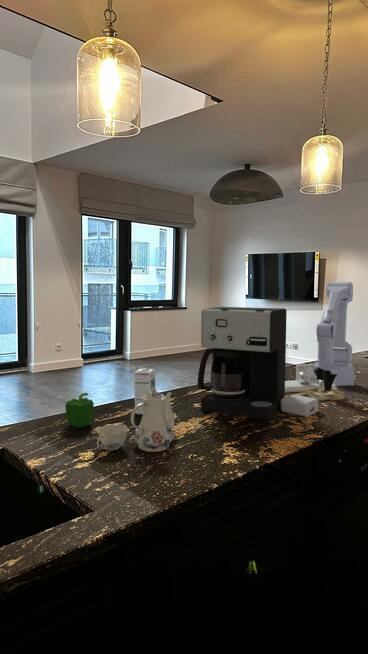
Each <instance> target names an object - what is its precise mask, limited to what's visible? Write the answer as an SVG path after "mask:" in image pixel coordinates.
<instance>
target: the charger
mask: <svg viewBox="0 0 368 654" xmlns="http://www.w3.org/2000/svg"><path fill="white" fill-rule="evenodd" d="M280 405H281V408H280V411H281V412H282V413H287V414H291V415H292V414H293V415H295V416H296V415H297V416H301V417H304V418H305V417H306V418H307V417H310V416H312V415H314V414H316V413H317V412H318V410H319V400H318V399H315V398H312V397H310V396H304V395H303V396H302V395H297V394H291V395H287V396H285V398H282V399H281V401H280Z"/></svg>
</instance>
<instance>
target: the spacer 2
mask: <svg viewBox="0 0 368 654" xmlns="http://www.w3.org/2000/svg"><path fill="white" fill-rule="evenodd" d="M318 392H321V393H329V392H330V391H325V389H324V380H323V379H318Z"/></svg>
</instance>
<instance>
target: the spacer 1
mask: <svg viewBox="0 0 368 654" xmlns="http://www.w3.org/2000/svg"><path fill="white" fill-rule="evenodd" d="M309 381H310V373H309V372H299V382H298V383H299V384H302V385H308V384H309Z"/></svg>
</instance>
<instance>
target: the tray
mask: <svg viewBox="0 0 368 654" xmlns="http://www.w3.org/2000/svg"><path fill="white" fill-rule="evenodd" d="M304 395H307V396H308V397H309V398H315V399H318V401H335V400H345V399H346V393H344V392H342V391H340V390H337V389H336V388H335V389H333V388H331V391H330V392H329V393H321V392H318V388H305V391H304Z"/></svg>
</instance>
